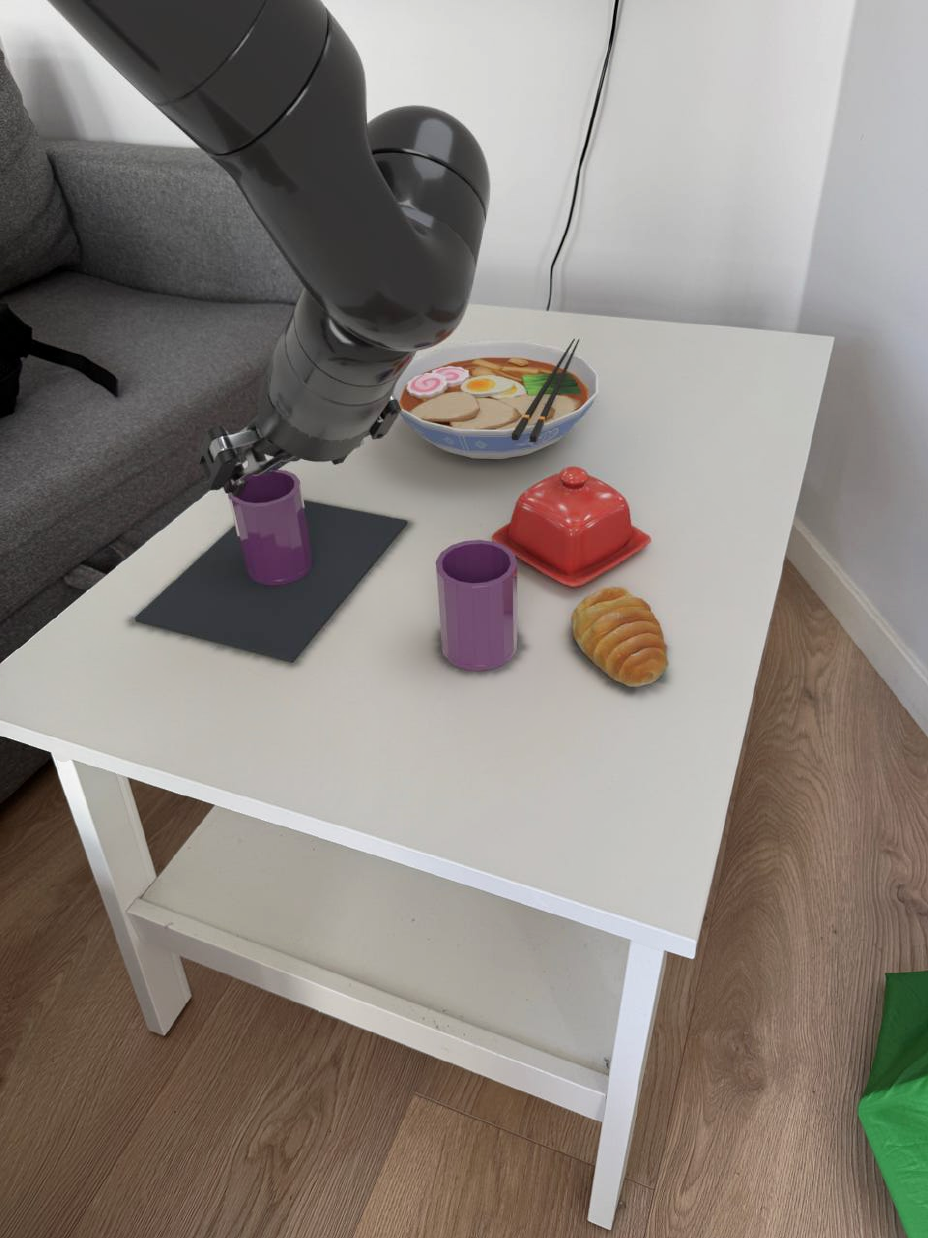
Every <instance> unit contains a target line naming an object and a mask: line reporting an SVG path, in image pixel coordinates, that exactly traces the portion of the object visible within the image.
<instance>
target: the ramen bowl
mask: <svg viewBox="0 0 928 1238" xmlns="http://www.w3.org/2000/svg"><path fill="white" fill-rule="evenodd" d="M575 340H576V338H573V339H572V340H571V342H570V343H569V345H568V347H567V349H566V350H564V349H562V348H560V347H558V346H553V345H547V344H541V343H536V342H530V341H524V340H479V341H471V342H464V343H459V344H458V343H457V344H452V345H451V344H450V345H445V346H443V347H440V348H437V349H434V350H432V351H429V352H426V353H423V354H421V355H417V356H414V357H413V359H412V361H411V363H410V364H409V365H408V367H407V368H406V369H405V371H404V372H403V374H402V375H401V377H400V378H399V380H398V381H397V383H396V386H395V389H394V393H395V395H396V398H397V400H398V402H399V405H400V407H401V409H402V410H401V412H400V413H399V415H400V416H401V418H402V419H403V421H405V422H406V424H407V425H408V426H409V427H410V428H411V430H413V431H414V432H415V433H416V434H417V435H418V436H420V437H421V438H422V439H424V441H425V440H426V441H427V442H428V443H430V444H432V445H434V446H435V447H437V448H439V449H440V450H442V451H445V452H448V453H450V454H455V455H459V456H463V457H467V458H470V459H479V460H480V459H482V460H504V459H511V458H515V457H522V456H527V455H530V454H532V453H534V452H537V451H539V450H541V449H544V448H546V447H548V446H550V445H552V444H555V443H557V442H559V441H560V440H561V439H562V438H563V437H564V436H565V435H566V434H567V433H568V432H569V431H570V430H571V429H572V428H573V427H574V426H575V425H576V424H578V422H579V421H580V420H581V419H582V418H583V417H584V416H585V415H586V413H587V412H588V411H589V409H590V408H591V407H592V405H593V403H594V402H595V400H596V398H597V396H598V395H599V392H600V391H599V389H600V388H599V387H600V386H599V384H600V382H599V381H600V380H599V379H600V375H599V373H598V372H597V371H596V369H594V368H593V367H592V365H590V363H589V362H587V360H586V359H585V358H583V357H581V356H578V355H576V354H575V352H576V350H577V348H578V345H579V343H580V340H581V339H580V338H579V339H577V341H576V343H575V346H574V347H573V349H572V351H571V352H570V349H571V347H572V345H573V344H574V342H575Z"/></svg>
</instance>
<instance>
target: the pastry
mask: <svg viewBox="0 0 928 1238" xmlns="http://www.w3.org/2000/svg"><path fill="white" fill-rule="evenodd" d="M570 620H571V628H572V636H573V638H574V641H575V642H576V644H577V645H578V647H579V649H580V650H581V652H582V653H583V654H585V656H587V658H588V659H590V660H591V662H592V663H593V664H594V665H595V666H596V667H597V668H599V669H600V670H601V671H602V672H603V673H605V674H606V675H607V676H608V677H609V678H610V679H612V680H613V681H615V682H619V683H620V684H623V685H625V686H626V687H629V688H634V687H635V688H639V687H641V686H645V685H650V684H653V683H654V682H656V681H658V679H660V677H661V676H662V674H663V673H664V672H665V670H666V669H667V668H668V666H669V661H668V656H667V647H668V646H667V644H666V642H665V638H664V633H663V630H662V627H661V624H660V623H661V622H660V621H659V620H658V618H657V617H656V615H655V614H654V612H653V611H652V608H651V606H650V605H649V604H648V603H647V601H645V600H644V599H643V598H641V597H635V596H634V595H633V594H631V593H630V592H629V591H628V589H627V588H625V587H624V588H623V587H621V586H610V587H603V588H600V589H597V590H596V591H594V593H592V594H591V595H590V594H589V595H587V596H586V597H584V598H583V599H582V600H581V601H580V602H579V603H578V605H577V607H576V608H575V609H574V611H573V612H572V613H571V616H570Z"/></svg>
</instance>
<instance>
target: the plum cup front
mask: <svg viewBox="0 0 928 1238" xmlns="http://www.w3.org/2000/svg"><path fill="white" fill-rule="evenodd" d="M227 496H228V501H229V506H230V509H231V513H232V518H233V522H234V525H235V527H236V531H237V535H238V539H239V544H240V548H241V552H242V556H243V561H244V565H245V568H246V571H247V574H248V576H249V577H250V578H251V579H252V580H253V581H255V582H257V583H259V584H263V585H271V586H276V585H284V584H288V583H292V582H295V581H297V580H299V579H301V578H302V577H304V576H305V575H306V574H308V573H309V571H310V570H311V569H312V566H313V552H312V546H311V541H310V535H309V529H308V523H307V518H306V512H305V506H304V501H303V500H304V494H303V489H302V484H301V480H300V479H299V477H298V476H297V474H295V473H293V472H290V471H288V470H286V469H278V470H276V471H275V472H273V473H271V474H270V475H264V476H254V477H253V478H251V479H250V480H249V482H248V485H247V487H246V489H245V492H244V494H243V495H240V496H237V497H234V496H233V495H232V493H228V494H227Z"/></svg>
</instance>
